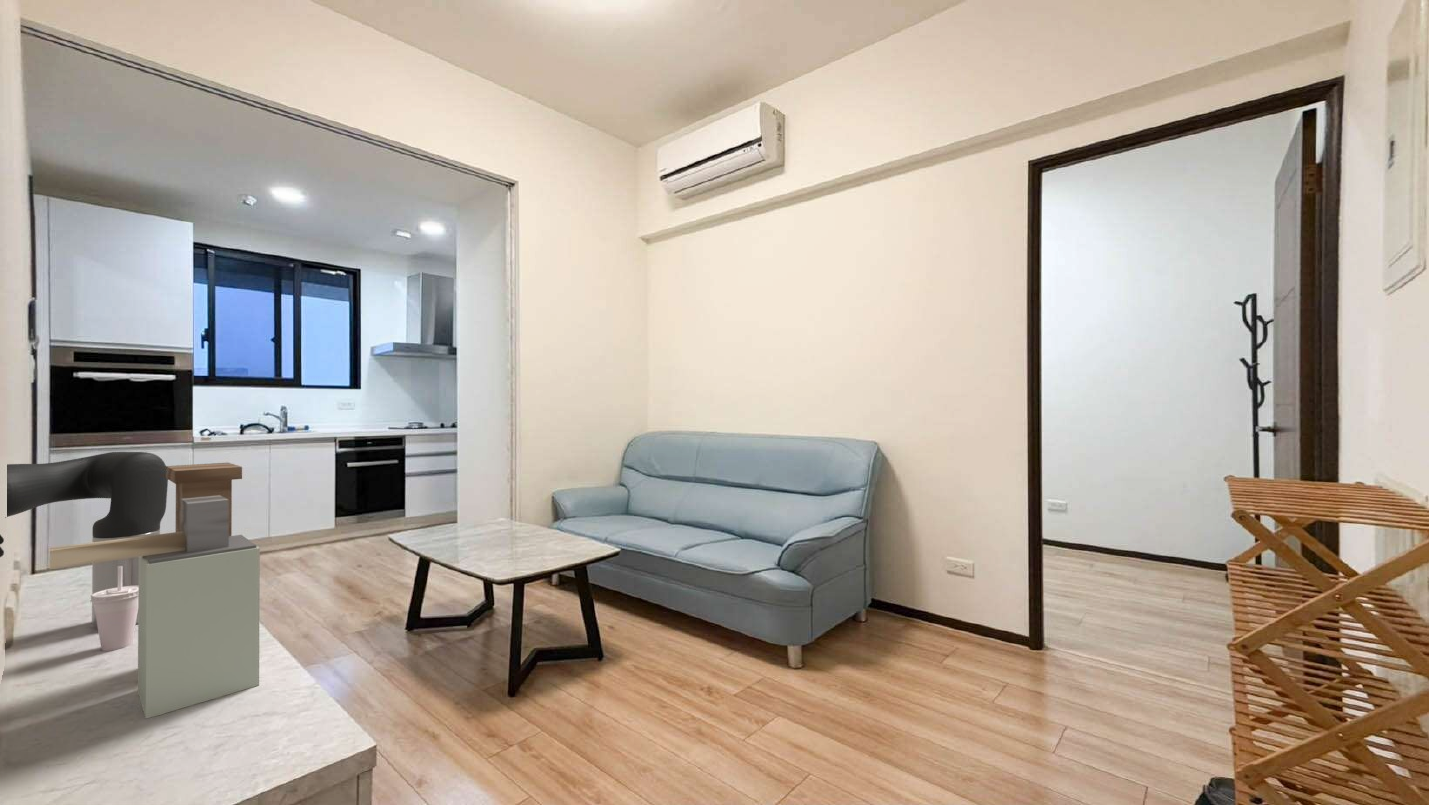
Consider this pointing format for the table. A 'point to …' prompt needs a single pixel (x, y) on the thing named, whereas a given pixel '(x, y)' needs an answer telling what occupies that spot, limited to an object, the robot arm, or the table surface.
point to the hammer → (158, 537)
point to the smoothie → (116, 614)
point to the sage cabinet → (198, 625)
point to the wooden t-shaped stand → (203, 483)
